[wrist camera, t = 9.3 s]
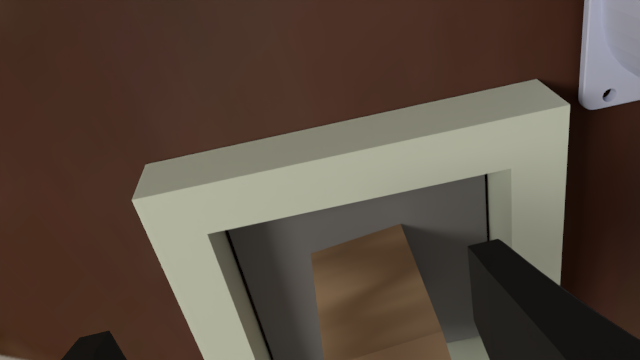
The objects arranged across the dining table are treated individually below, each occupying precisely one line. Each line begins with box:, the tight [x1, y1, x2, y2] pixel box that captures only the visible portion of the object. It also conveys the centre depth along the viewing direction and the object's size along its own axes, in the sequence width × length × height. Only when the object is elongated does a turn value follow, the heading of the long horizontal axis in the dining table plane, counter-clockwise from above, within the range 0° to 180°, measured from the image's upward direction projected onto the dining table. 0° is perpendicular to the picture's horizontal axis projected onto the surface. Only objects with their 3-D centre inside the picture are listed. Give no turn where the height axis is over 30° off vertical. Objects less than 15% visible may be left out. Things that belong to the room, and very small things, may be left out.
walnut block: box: [311, 224, 451, 360], centre depth 21 cm, size 4×4×6 cm
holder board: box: [132, 79, 570, 360], centre depth 23 cm, size 15×15×2 cm
